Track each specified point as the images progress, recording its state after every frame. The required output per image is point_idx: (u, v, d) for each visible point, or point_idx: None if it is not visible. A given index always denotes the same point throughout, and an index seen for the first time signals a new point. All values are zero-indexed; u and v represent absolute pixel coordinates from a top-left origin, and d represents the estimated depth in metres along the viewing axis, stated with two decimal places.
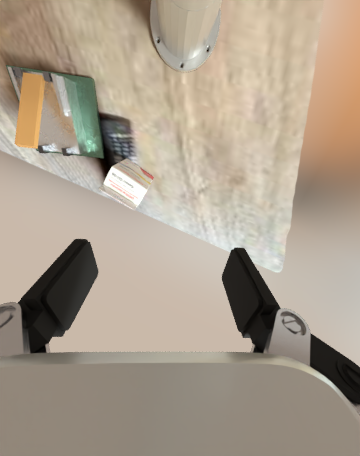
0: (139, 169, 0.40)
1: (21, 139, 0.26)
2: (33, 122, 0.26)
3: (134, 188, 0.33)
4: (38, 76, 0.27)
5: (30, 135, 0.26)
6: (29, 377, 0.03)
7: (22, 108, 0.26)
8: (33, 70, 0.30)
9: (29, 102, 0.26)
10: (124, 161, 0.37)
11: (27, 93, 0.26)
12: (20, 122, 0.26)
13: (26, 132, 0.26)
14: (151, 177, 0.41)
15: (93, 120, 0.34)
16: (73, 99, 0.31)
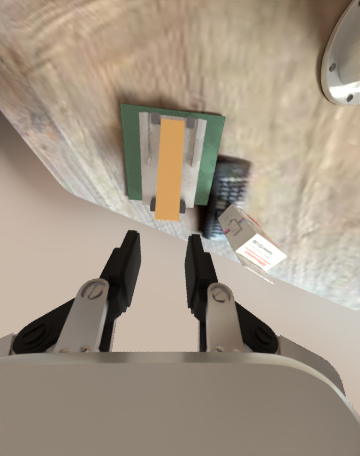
0: (248, 217, 0.32)
1: (162, 212, 0.19)
2: (177, 187, 0.19)
3: (272, 254, 0.25)
4: (181, 123, 0.19)
5: (174, 205, 0.19)
6: (29, 377, 0.03)
7: (163, 168, 0.19)
8: (153, 109, 0.23)
9: (171, 159, 0.19)
10: (239, 212, 0.30)
11: (168, 146, 0.19)
12: (160, 188, 0.19)
13: (169, 202, 0.19)
14: None
15: (209, 164, 0.27)
16: None
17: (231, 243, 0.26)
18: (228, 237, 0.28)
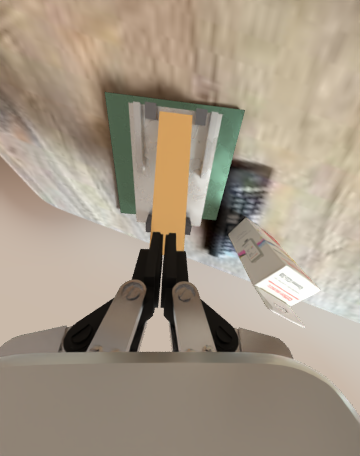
0: (266, 234, 0.27)
1: None
2: (181, 209, 0.13)
3: (303, 289, 0.20)
4: (187, 118, 0.14)
5: (176, 235, 0.13)
6: (29, 377, 0.03)
7: (161, 182, 0.13)
8: (150, 99, 0.17)
9: (172, 169, 0.13)
10: (257, 229, 0.24)
11: (169, 151, 0.14)
12: (158, 210, 0.13)
13: (170, 229, 0.13)
14: (277, 242, 0.28)
15: (221, 172, 0.22)
16: None
17: (248, 272, 0.21)
18: (244, 263, 0.22)
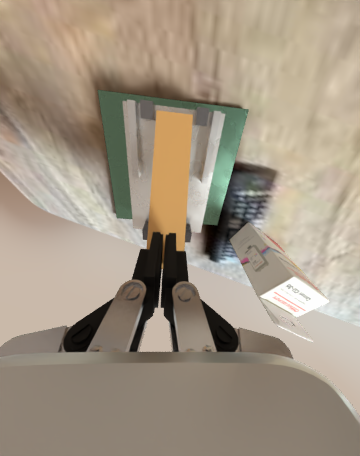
0: (269, 240, 0.25)
1: None
2: (180, 218, 0.12)
3: (310, 300, 0.18)
4: (187, 117, 0.12)
5: None
6: (29, 377, 0.03)
7: (158, 188, 0.12)
8: (146, 98, 0.16)
9: (171, 174, 0.12)
10: (260, 235, 0.23)
11: (167, 154, 0.12)
12: (155, 219, 0.12)
13: None
14: (281, 248, 0.27)
15: (223, 175, 0.20)
16: None
17: (252, 282, 0.19)
18: (247, 271, 0.21)
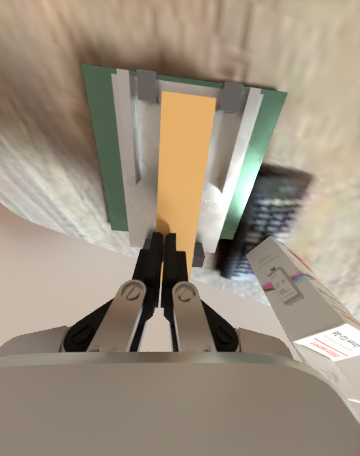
0: (295, 258, 0.21)
1: None
2: (189, 239, 0.11)
3: (359, 347, 0.14)
4: (207, 104, 0.08)
5: None
6: (29, 377, 0.03)
7: (166, 207, 0.10)
8: None
9: (181, 191, 0.10)
10: (287, 255, 0.18)
11: (176, 164, 0.09)
12: None
13: None
14: (307, 266, 0.22)
15: (245, 180, 0.16)
16: None
17: (281, 318, 0.15)
18: (272, 301, 0.17)
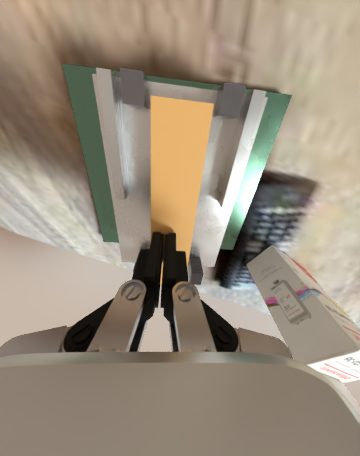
0: (299, 268, 0.20)
1: None
2: (184, 248, 0.11)
3: None
4: (203, 111, 0.07)
5: None
6: (29, 377, 0.03)
7: (160, 219, 0.10)
8: None
9: (175, 204, 0.10)
10: (291, 267, 0.17)
11: (169, 177, 0.09)
12: None
13: None
14: (311, 276, 0.21)
15: (245, 189, 0.15)
16: None
17: (287, 338, 0.14)
18: (276, 318, 0.15)
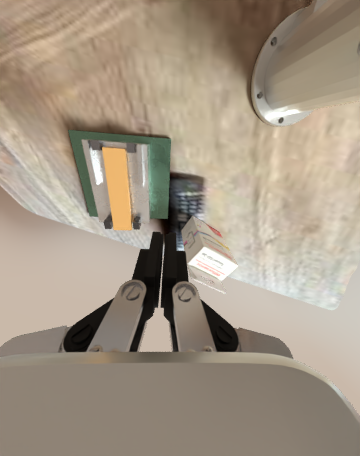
0: (208, 228, 0.34)
1: (118, 225, 0.26)
2: (126, 208, 0.25)
3: (224, 265, 0.26)
4: (121, 151, 0.21)
5: (126, 220, 0.26)
6: (29, 377, 0.03)
7: (112, 193, 0.24)
8: (101, 134, 0.24)
9: (118, 186, 0.23)
10: (197, 224, 0.31)
11: (113, 175, 0.22)
12: (113, 209, 0.25)
13: (122, 218, 0.26)
14: (219, 234, 0.35)
15: (163, 181, 0.29)
16: (149, 165, 0.25)
17: (186, 256, 0.27)
18: (185, 249, 0.29)
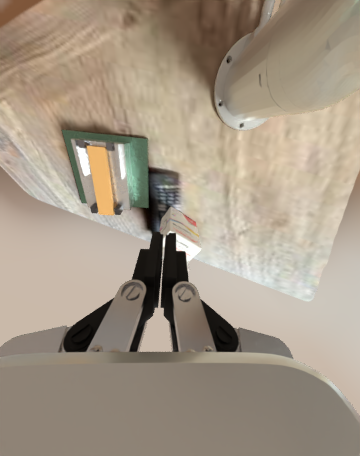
0: (184, 217, 0.39)
1: (102, 210, 0.32)
2: (108, 196, 0.30)
3: (189, 247, 0.32)
4: (102, 149, 0.26)
5: (109, 207, 0.31)
6: (29, 377, 0.03)
7: (96, 184, 0.29)
8: (89, 133, 0.29)
9: (100, 178, 0.28)
10: (172, 213, 0.36)
11: (96, 168, 0.28)
12: (98, 196, 0.30)
13: (105, 205, 0.31)
14: (194, 224, 0.40)
15: (143, 175, 0.34)
16: (128, 161, 0.30)
17: None
18: None
